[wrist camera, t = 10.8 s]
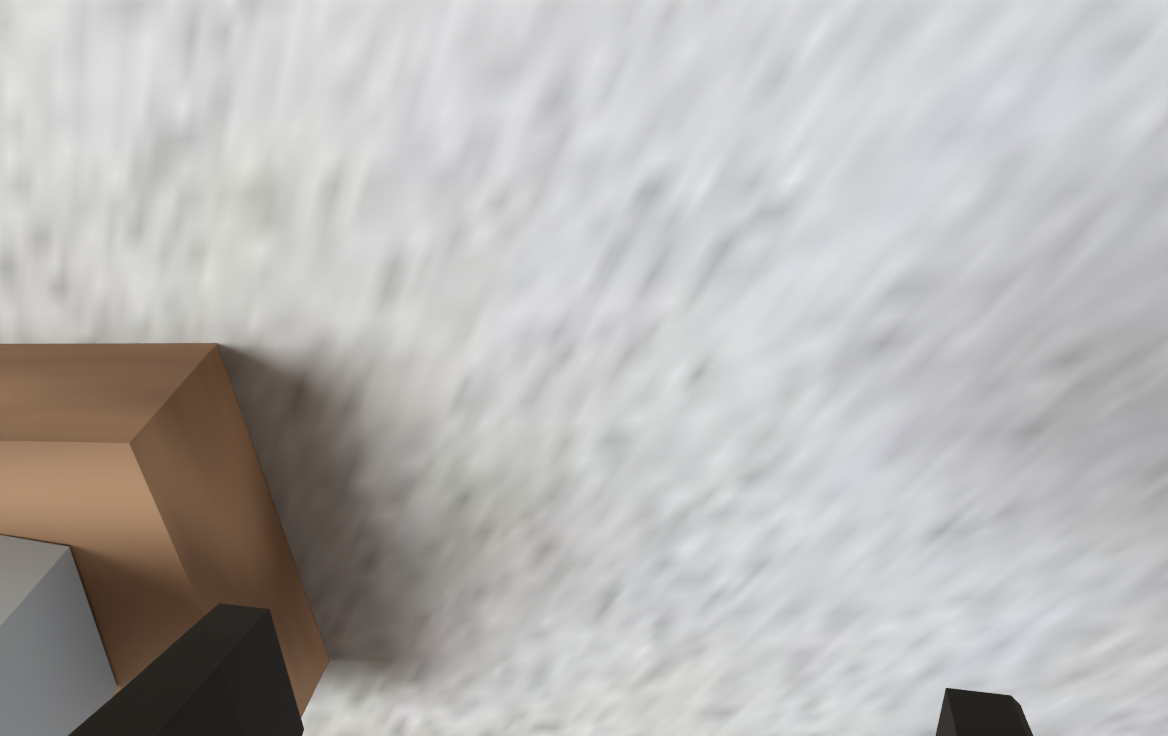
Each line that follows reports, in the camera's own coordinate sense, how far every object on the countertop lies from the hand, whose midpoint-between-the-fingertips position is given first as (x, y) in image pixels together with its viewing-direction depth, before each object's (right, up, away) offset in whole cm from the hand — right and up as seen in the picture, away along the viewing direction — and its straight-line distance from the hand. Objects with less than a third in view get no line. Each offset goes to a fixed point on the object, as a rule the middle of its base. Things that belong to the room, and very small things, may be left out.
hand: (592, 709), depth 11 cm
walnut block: (-12, 0, +16) cm, 20 cm away
